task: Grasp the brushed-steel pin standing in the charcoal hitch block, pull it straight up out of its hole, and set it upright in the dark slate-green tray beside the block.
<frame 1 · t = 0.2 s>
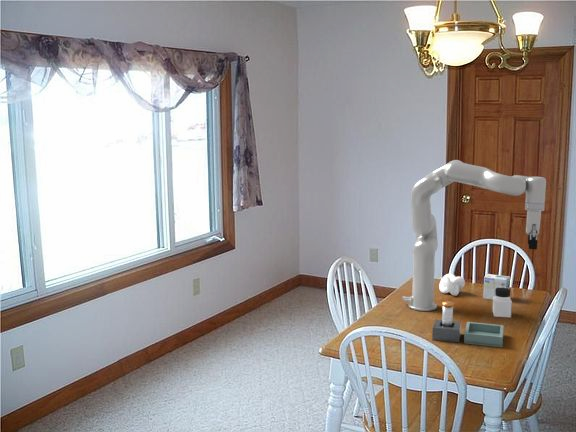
hand: (532, 246, 276), 31 cm above the table, tool pointing down, fingers open, 9 cm apart
white irregular lump: (452, 293, 317), on the table
light bulb box: (495, 298, 308), on the table
pin: (447, 319, 258), in the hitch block
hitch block: (446, 336, 259), on the table
tray: (483, 339, 256), on the table
medicine bottle: (501, 315, 285), on the table
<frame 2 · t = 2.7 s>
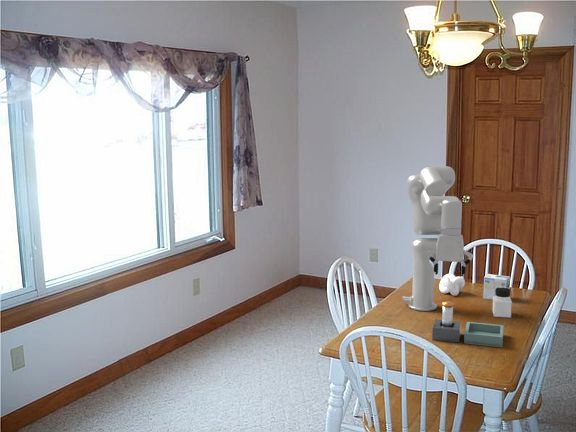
hand: (449, 274, 254), 25 cm above the table, tool pointing down, fingers open, 9 cm apart
nothing on the table moved.
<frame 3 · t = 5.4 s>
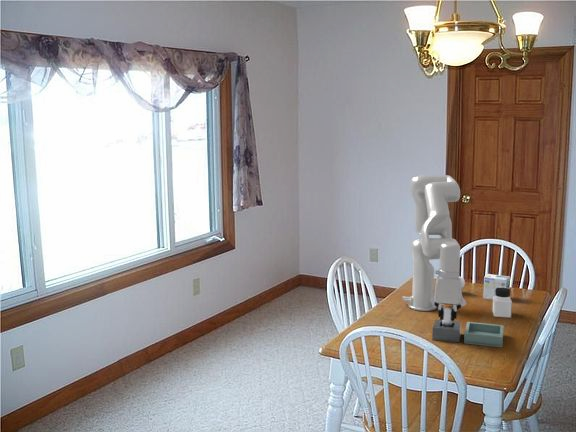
hand: (447, 319, 258), 7 cm above the table, tool pointing down, fingers closed on pin, 4 cm apart
pin: (447, 319, 258), in the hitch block, touching gripper
everything else where it was.
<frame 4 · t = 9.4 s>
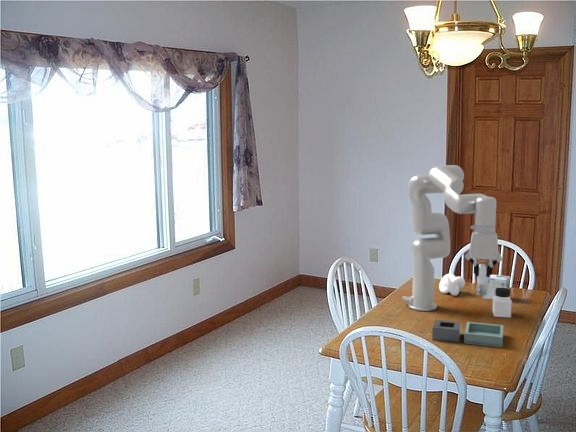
hand: (482, 275, 252), 26 cm above the table, tool pointing down, fingers closed on pin, 4 cm apart
pin: (482, 276, 252), point 25 cm above the table, touching gripper
everything else where it was.
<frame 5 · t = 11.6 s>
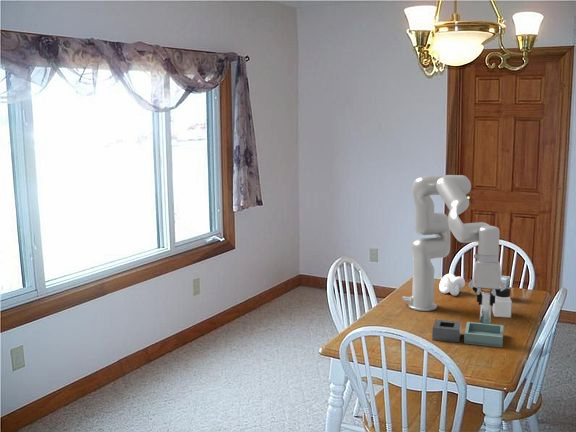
hand: (485, 304, 254), 14 cm above the table, tool pointing down, fingers closed on pin, 4 cm apart
pin: (485, 304, 254), point 14 cm above the table, touching gripper
everything else where it was.
when the fingers open (9 cm above the table, at t = 13.4 s): pin stays where it is, resting on tray.
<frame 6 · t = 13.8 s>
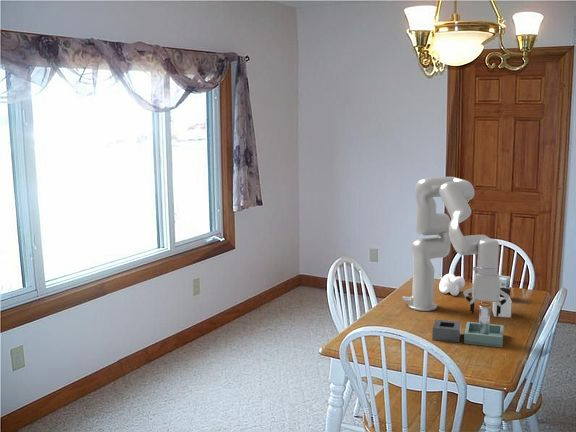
hand: (485, 314, 254), 10 cm above the table, tool pointing down, fingers open, 8 cm apart
pin: (484, 319, 255), in the tray, point 8 cm above the table
everything else where it was.
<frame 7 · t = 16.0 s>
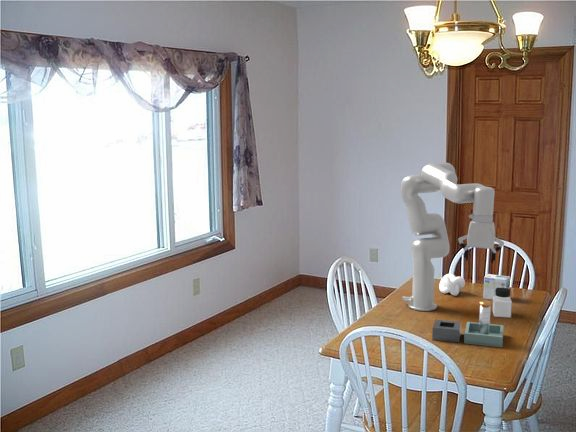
hand: (479, 260, 259), 29 cm above the table, tool pointing down, fingers open, 9 cm apart
nothing on the table moved.
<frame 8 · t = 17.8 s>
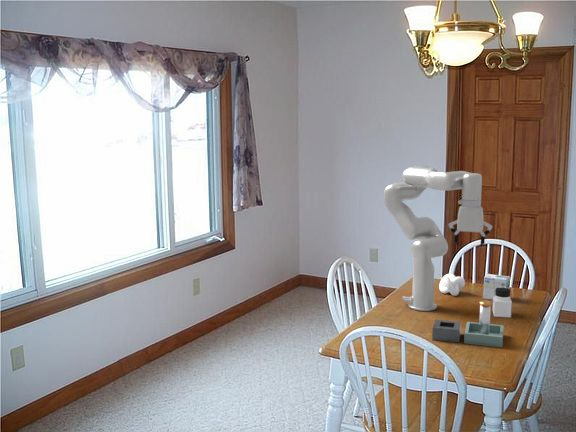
hand: (469, 244, 270), 33 cm above the table, tool pointing down, fingers open, 9 cm apart
nothing on the table moved.
at the end: pin inside the target area on the tray (0.1 cm from its centre), point 8.0 cm above the tray's base; pin tilted 0°; the gripper is holding nothing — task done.
